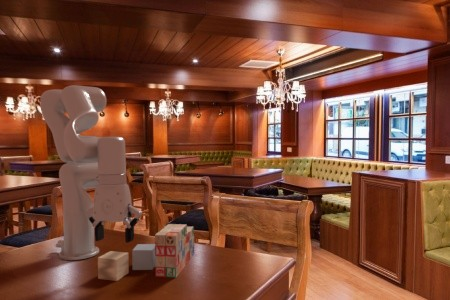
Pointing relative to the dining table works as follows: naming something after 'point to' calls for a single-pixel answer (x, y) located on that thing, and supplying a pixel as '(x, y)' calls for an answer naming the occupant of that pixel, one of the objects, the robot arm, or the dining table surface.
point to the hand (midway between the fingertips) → (114, 240)
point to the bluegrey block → (143, 257)
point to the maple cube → (113, 265)
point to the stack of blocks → (173, 249)
